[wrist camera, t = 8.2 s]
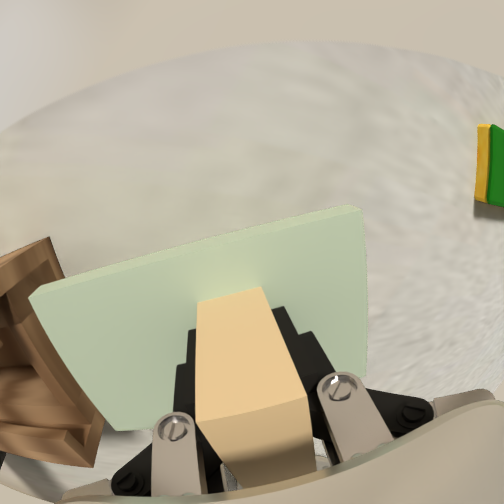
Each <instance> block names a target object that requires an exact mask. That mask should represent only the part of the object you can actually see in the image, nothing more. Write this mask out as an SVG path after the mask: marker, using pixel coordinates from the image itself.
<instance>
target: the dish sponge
mask: <svg viewBox="0 0 504 504" xmlns="http://www.w3.org/2000/svg"><path fill="white" fill-rule="evenodd" d="M474 196H475V199H476V200H478V201H481V202H484V203H488V204H491V205H496V206H501V207H504V130H503V129H501V128H499V127H498V126H496V125H494V124H492V125H490V124H479V125H478V149H477V172H476V184H475V194H474Z"/></svg>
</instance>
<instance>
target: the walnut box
mask: <svg viewBox="0 0 504 504" xmlns="http://www.w3.org/2000/svg"><path fill="white" fill-rule="evenodd" d="M64 278H65V277H64V275H63V272H62V270H61V267H60V265H59V262H58V260H57V257H56V254H55V252H54V249H53V246H52V243H51V240H50V237H47V238H44V239H42V240H39V241H37V242H34V243H32V244H30V245H27V246H25V247H23V248H20V249H18V250H16V251H13V252H11V253H9V254H7V255H4V256H2V257H0V450H1V451H4V452H7V453H11V454H15V455H19V456H23V457H27V458H31V459H36V460H41V461H46V462H51V463H57V464H63V465H70V466H78V467H88V468H94V463H95V458H96V454H97V450H98V446H99V442H100V438H101V434H102V430H103V426H104V422H105V418H104V416H103V415H102V414H101V413H100V412H99V410H98V409H97V408H96V407H95V405H94V404H93V403H92V401H91V400H90V399H89V398H88V396H87V395H86V394H85V392H84V391H83V390H82V388H81V387H80V385H79V384H78V383H77V381H76V380H75V378H74V377H73V375H72V374H71V372H70V371H69V370H68V368H67V366H66V365H65V363H64V362H63V360H62V359H61V357H60V356H59V354H58V352H57V351H56V349H55V347H54V346H53V344H52V342H51V341H50V339H49V337H48V335H47V334H46V332H45V330H44V328H43V326H42V325H41V323H40V321H39V319H38V317H37V315H36V313H35V311H34V309H33V307H32V305H31V303H30V301H29V299H28V297H29V296H30V295H31V294H32V293H33V292H34V291H35V290H36V289H37V288H38V287H40V286H41V285H45V284H48V283H51V282H55V281H58V280H61V279H64Z"/></svg>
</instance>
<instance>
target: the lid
mask: <svg viewBox="0 0 504 504" xmlns="http://www.w3.org/2000/svg"><path fill="white" fill-rule="evenodd" d="M28 299H29V301H30V303H31V305H32V307H33V309H34V311H35V313H36V315H37V317H38V319H39V321H40V323H41V325H42V326H43V328H44V330H45V332H46V334H47V335H48V337H49V339H50V341H51V342H52V344H53V346H54V347H55V349H56V351H57V352H58V354H59V356H60V357H61V359H62V360H63V362H64V363H65V365H66V366H67V368H68V370H69V371H70V372H71V374H72V375H73V377H74V378H75V380H76V381H77V383H78V384H79V385H80V387H81V388H82V390H83V391H84V392H85V394H86V395H87V396H88V398H89V399H90V400H91V401H92V403H93V404H94V405H95V407H96V408H97V409H98V410H99V412H100V413H101V414H102V415H103V416H104V418H105V419H106V420H107V421H108V422H109V424H110V425H111V426H112V427H113V428H114V429H115V430H116V431H127V430H143V429H154V426H155V424H156V422H157V421H158V420H159V419H160V418H161V417H162V416H164V415H166V414H168V413H172V412H173V401H174V388H175V376H176V367H177V365H178V364H183V363H186V354H187V338H188V330H191V329H195V328H196V365H195V414H196V424H197V425H198V427H199V428H200V430H201V431H202V433H203V434H204V436H205V437H206V439H207V440H208V442H209V443H210V445H211V446H212V447H213V449H214V450H215V452H216V453H217V454H218V456H219V457H220V459H221V460H222V461H223V463H224V464H225V465H226V467H227V468H228V469H229V471H230V472H231V473H232V475H233V476H234V477H235V479H236V480H237V481H238V482H239V484H240V485H241V486H242V487H243V489H248V488H253V487H258V486H263V485H268V484H272V483H277V482H281V481H285V480H289V479H292V478H296V477H300V476H303V475H307V474H310V473H313V472H316V471H317V467H316V458H315V450H314V442H313V434H312V427H311V419H310V412H309V405H308V398H307V394H306V392H305V389H304V387H303V385H302V382H301V380H300V378H299V375H298V373H297V370H296V368H295V366H294V363H293V361H292V359H291V356H290V354H289V351H288V349H287V347H286V344H285V342H284V340H283V337H282V335H281V332H280V330H279V328H278V325H277V323H276V320H275V318H274V316H273V313H272V311H271V309H274V308H278V307H281V306H284V307H285V309H286V311H287V313H288V315H289V317H290V319H291V321H292V323H293V324H294V326H295V328H296V330H297V332H298V334H302V333H305V332H308V331H312V332H313V333H314V335H315V337H316V338H317V340H318V342H319V343H320V345H321V347H322V349H323V350H324V352H325V354H326V355H327V357H328V359H329V361H330V362H331V364H332V366H333V367H334V369H335V371H336V372H349V373H353V374H354V375H356V376H357V377H358V378H362V377H364V376H366V363H367V338H368V291H367V264H366V247H365V234H364V223H363V213H362V209H359V208H357V207H354V206H352V205H349V204H346V205H341V206H337V207H333V208H328V209H324V210H320V211H315V212H311V213H307V214H303V215H299V216H294V217H290V218H286V219H282V220H278V221H274V222H270V223H266V224H262V225H258V226H254V227H250V228H246V229H242V230H238V231H234V232H230V233H226V234H222V235H218V236H215V237H211V238H207V239H203V240H199V241H195V242H192V243H188V244H184V245H180V246H177V247H173V248H169V249H166V250H162V251H158V252H155V253H151V254H147V255H144V256H140V257H137V258H133V259H130V260H126V261H123V262H119V263H115V264H112V265H109V266H105V267H102V268H98V269H95V270H91V271H88V272H85V273H81V274H78V275H74V276H71V277H68V278H64V279H61V280H58V281H55V282H51V283H48V284H45V285H41V286H40V287H38V288H37V289H36V290H35V291H34V292H33V293H32V294H31V295H30V296H29V297H28Z"/></svg>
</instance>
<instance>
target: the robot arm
mask: <svg viewBox="0 0 504 504" xmlns="http://www.w3.org/2000/svg"><path fill="white" fill-rule="evenodd" d="M271 311H272V313H273V316H274V318H275V320H276V323H277V325H278V328H279V330H280V332H281V335H282V337H283V340H284V342H285V344H286V347H287V349H288V351H289V354H290V356H291V359H292V361H293V363H294V366H295V368H296V370H297V373H298V375H299V378H300V380H301V382H302V385H303V387H304V389H305V392H306V394H307V398H308V405H309V412H310V419H311V427H312V434H313V437H315V438H318V439H321V440H322V444H323V446H324V449H325V452H326V455H327V458H325V457H322V456H316V455H315V458H316V467H317V471H316V472H313V473H310V474H307V475H303V476H300V477H296V478H292V479H289V480H285V481H281V482H277V483H272V484H268V485H263V486H258V487H253V488H248V489H243V487H242V486H241V485H240V484H239V482H238V481H237V490H236V491H229V492H228V487H227V482H226V476H225V471H224V466H223V461H222V460H221V459H220V457H219V456H218V454H217V453H216V452H215V450H214V449H213V447H212V446H211V445H210V443H209V442H208V440H207V439H206V437H205V436H204V434H203V433H202V431H201V430H200V428H199V427H198V425H197V424H196V414H195V365H196V328H195V329H191V330H188V338H187V354H186V363H183V364H178V365H177V367H176V376H175V388H174V401H173V412H172V413H168V414H166V415H164V416H162V417H161V418H160V419H159V420H158V421H157V422H156V424H155V426H154V429H153V442H152V443H151V444H150V445H149V446H147V447H146V448H145V449H144V450H143V451H142V452H140V453H139V454H138V455H137V456H135V457H134V458H133V459H132V460H131V461H129V462H128V463H127V464H126V465H124V466H123V467H122V468H121V469H119V470H118V471H117V472H116V473H115V474H114V476H113V478H112V480H108V479H107V478H106V479H103V480H100V481H97V482H94V483H91V484H88V485H85V486H81V487H78V488H74V489H71V490H68V491H66V492H65V493H64V494H63V495H62V498H61V501H58V502H56V503H54V504H504V402H502V401H499V400H495V398H494V396H493V394H492V393H491V392H490V391H488V390H485V389H476V390H472V391H468V392H463V393H459V394H454V395H449V396H444V397H439V398H434V400H433V401H431V402H427V401H426V400H424V399H421V398H417V397H411V396H404V395H398V394H393V393H387V392H382V391H377V390H372V389H367V388H365V387H364V385H363V383H362V382H361V380H360V379H359V378H358V377H357V376H356V375H354V374H353V373H349V372H336V371H335V369H334V367H333V366H332V364H331V362H330V361H329V359H328V357H327V355H326V354H325V352H324V350H323V349H322V347H321V345H320V343H319V342H318V340H317V338H316V337H315V335H314V333H313V332H312V331H308V332H305V333H302V334H298V332H297V330H296V328H295V326H294V324H293V323H292V321H291V319H290V317H289V315H288V313H287V311H286V309H285V307H284V306H281V307H278V308H274V309H271Z"/></svg>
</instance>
